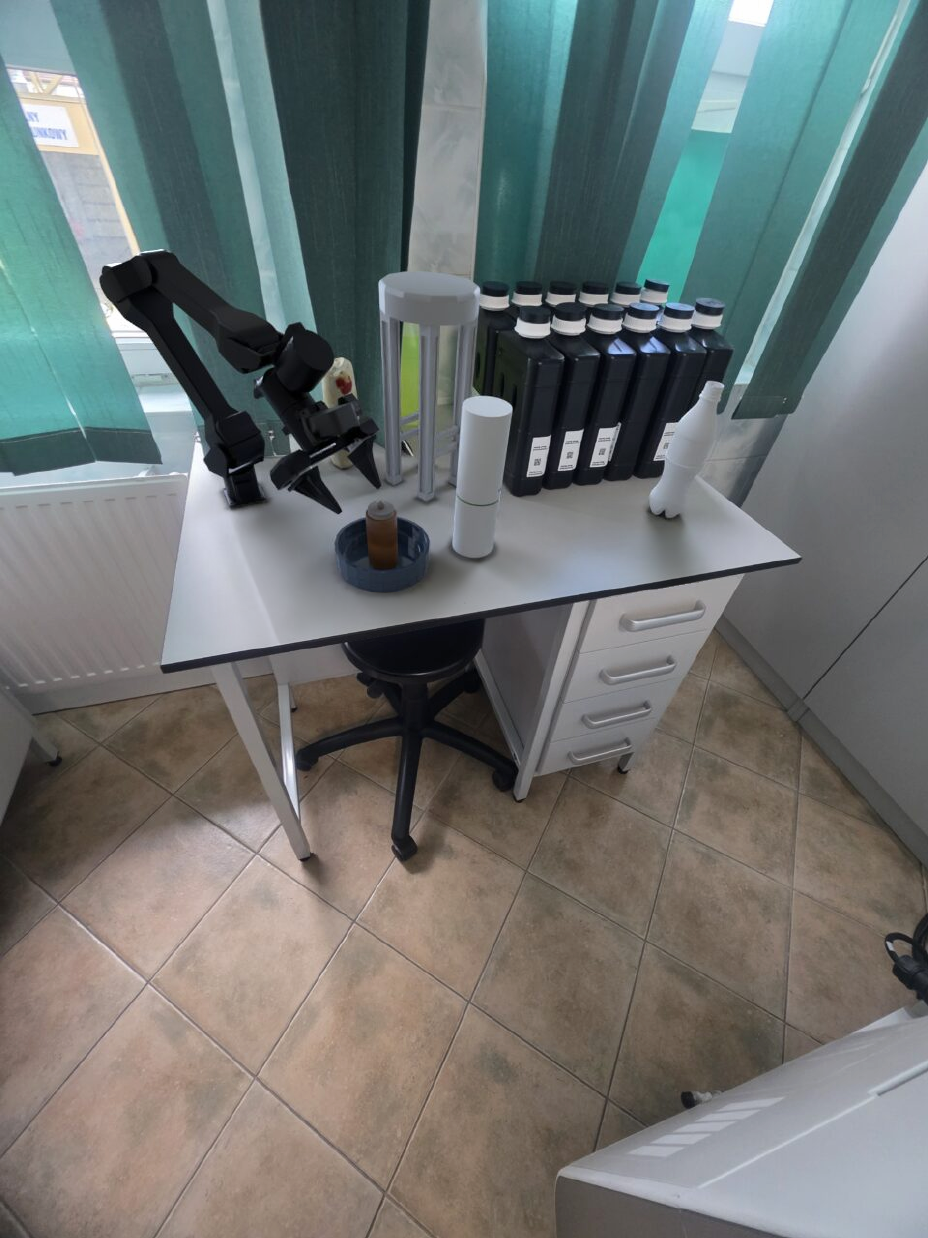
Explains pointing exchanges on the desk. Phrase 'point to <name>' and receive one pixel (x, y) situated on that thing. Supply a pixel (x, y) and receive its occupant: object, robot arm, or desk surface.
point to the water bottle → (687, 452)
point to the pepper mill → (382, 535)
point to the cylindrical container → (480, 473)
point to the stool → (425, 365)
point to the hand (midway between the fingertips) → (360, 499)
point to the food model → (334, 387)
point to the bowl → (363, 576)
